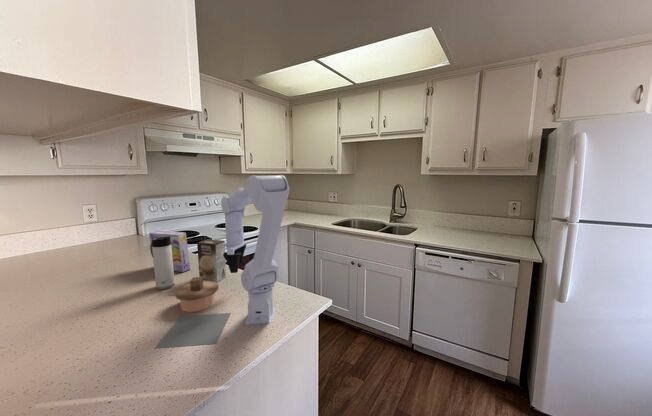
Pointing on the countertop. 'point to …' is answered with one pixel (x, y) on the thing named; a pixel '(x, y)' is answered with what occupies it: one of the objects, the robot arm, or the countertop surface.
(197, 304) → the bowl
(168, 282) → the travel mug
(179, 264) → the cake pan box
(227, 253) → the robot arm
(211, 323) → the mat
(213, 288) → the lid
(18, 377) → the countertop surface
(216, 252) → the coffee box
